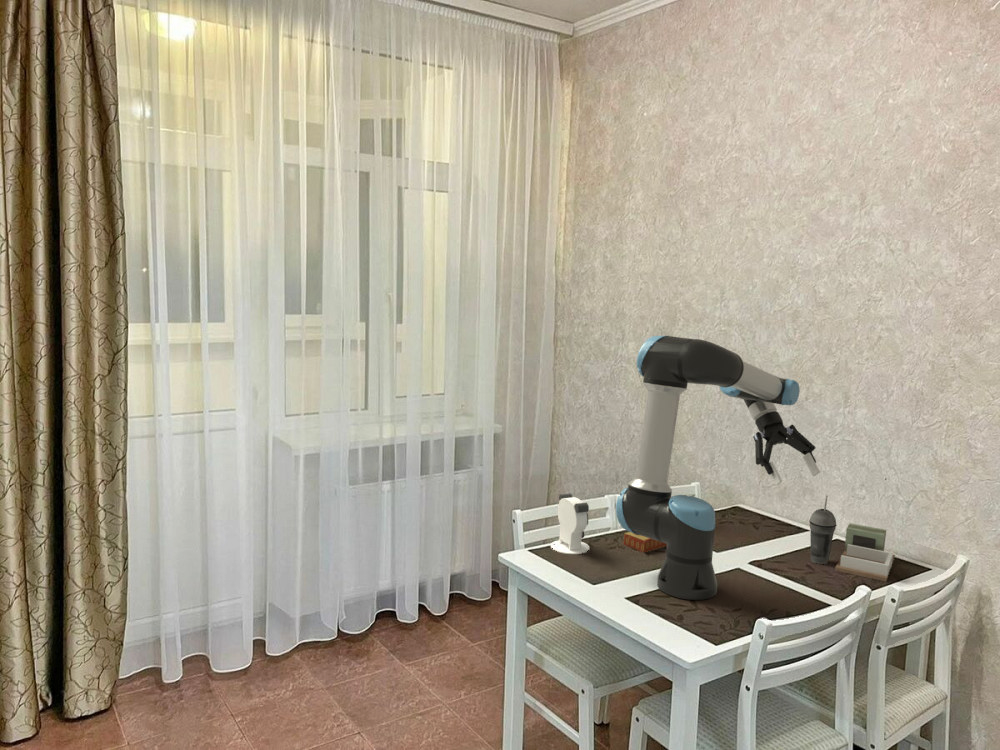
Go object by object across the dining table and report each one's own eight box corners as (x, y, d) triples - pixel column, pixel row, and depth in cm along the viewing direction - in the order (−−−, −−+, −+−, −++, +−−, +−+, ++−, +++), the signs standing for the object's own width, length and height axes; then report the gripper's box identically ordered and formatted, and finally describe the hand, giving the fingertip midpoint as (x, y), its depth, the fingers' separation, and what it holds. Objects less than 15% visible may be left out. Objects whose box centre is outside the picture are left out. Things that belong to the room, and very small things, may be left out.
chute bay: (887, 576, 213) (888, 565, 212) (840, 566, 219) (841, 556, 219) (892, 563, 223) (893, 553, 222) (846, 553, 229) (847, 543, 229)
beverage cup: (828, 557, 228) (834, 491, 225) (836, 567, 221) (843, 499, 218) (802, 556, 229) (808, 490, 226) (809, 565, 222) (816, 497, 219)
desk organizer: (886, 581, 212) (889, 553, 210) (835, 570, 218) (837, 543, 217) (894, 558, 230) (897, 532, 229) (847, 548, 236) (849, 523, 235)
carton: (622, 546, 233) (623, 532, 233) (657, 536, 243) (658, 522, 243) (644, 554, 227) (644, 540, 226) (678, 543, 237) (679, 530, 236)
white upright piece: (597, 552, 226) (600, 502, 224) (563, 557, 222) (566, 506, 220) (576, 538, 237) (579, 491, 235) (543, 543, 232) (546, 494, 230)
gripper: (792, 414, 246) (825, 475, 237) (726, 428, 238) (756, 492, 229) (805, 403, 240) (838, 465, 230) (737, 417, 232) (769, 482, 222)
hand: (798, 478), depth 230 cm, fingers open, 13 cm apart
